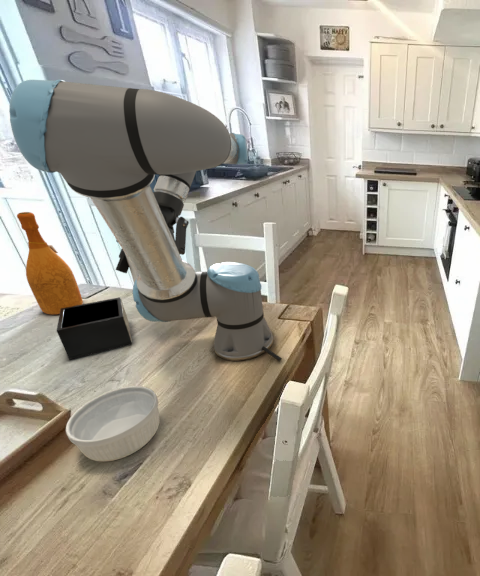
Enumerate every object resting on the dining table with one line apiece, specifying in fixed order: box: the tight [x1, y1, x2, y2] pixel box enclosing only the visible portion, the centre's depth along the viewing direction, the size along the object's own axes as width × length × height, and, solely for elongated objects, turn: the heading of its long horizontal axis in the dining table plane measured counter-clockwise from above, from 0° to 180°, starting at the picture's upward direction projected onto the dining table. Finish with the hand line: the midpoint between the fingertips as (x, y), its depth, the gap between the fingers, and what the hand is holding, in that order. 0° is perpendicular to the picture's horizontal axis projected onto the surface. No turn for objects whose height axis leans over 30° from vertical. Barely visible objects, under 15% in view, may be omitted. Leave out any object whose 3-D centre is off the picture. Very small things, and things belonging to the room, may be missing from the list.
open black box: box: [56, 296, 133, 361], centre depth 86 cm, size 13×13×9 cm
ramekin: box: [65, 385, 160, 462], centre depth 61 cm, size 13×13×7 cm
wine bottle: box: [16, 211, 84, 315], centre depth 94 cm, size 10×10×30 cm
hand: (140, 274), depth 83 cm, fingers closed on milk carton, 10 cm apart
